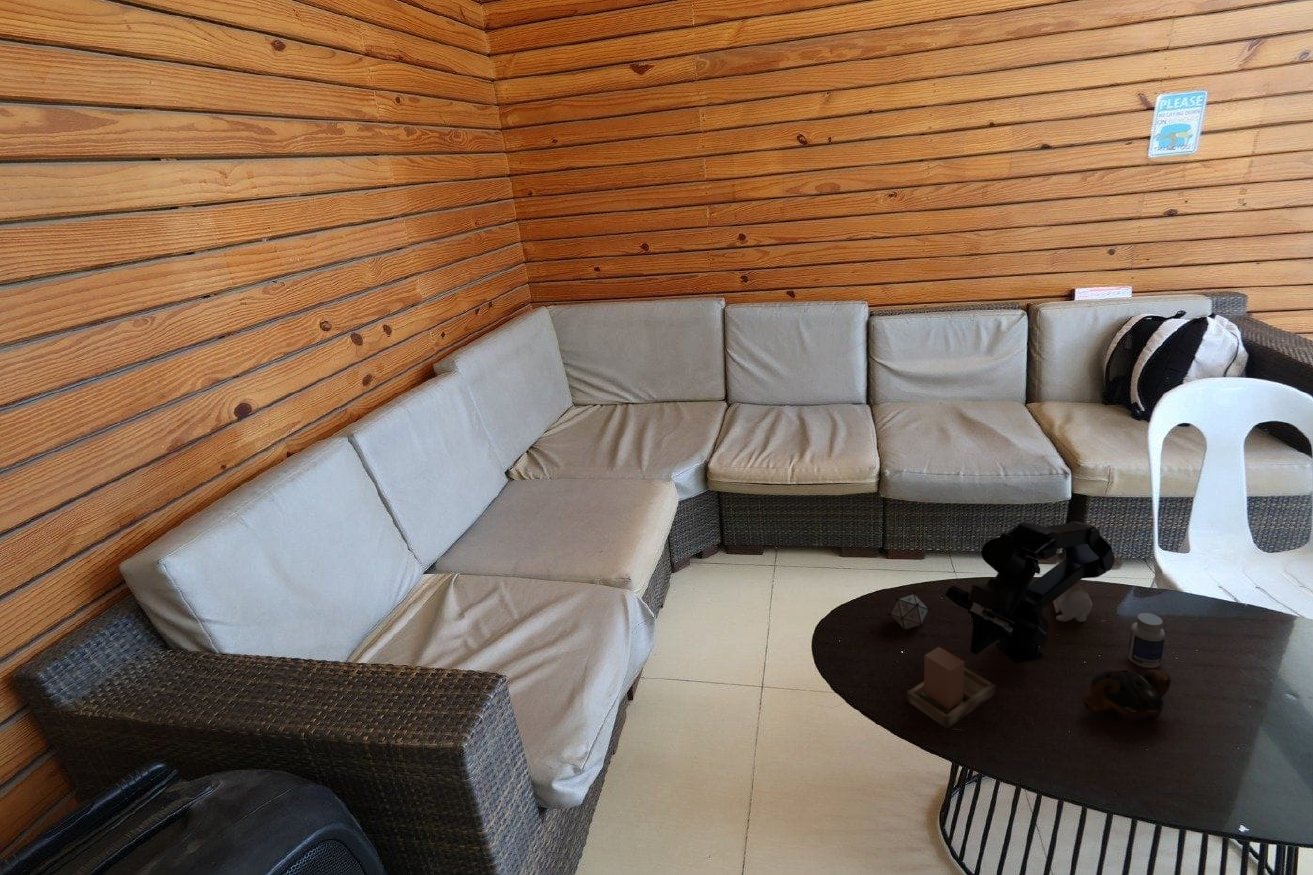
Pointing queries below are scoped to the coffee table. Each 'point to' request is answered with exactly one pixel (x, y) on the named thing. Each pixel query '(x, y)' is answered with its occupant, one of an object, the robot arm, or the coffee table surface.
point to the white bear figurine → (1073, 604)
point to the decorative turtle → (1128, 694)
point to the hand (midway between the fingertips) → (973, 653)
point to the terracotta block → (943, 677)
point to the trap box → (973, 696)
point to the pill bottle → (1146, 641)
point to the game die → (909, 611)
